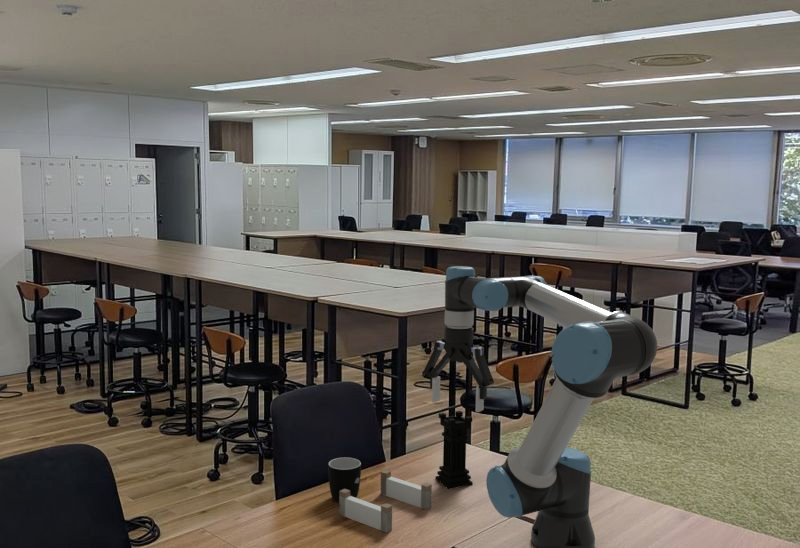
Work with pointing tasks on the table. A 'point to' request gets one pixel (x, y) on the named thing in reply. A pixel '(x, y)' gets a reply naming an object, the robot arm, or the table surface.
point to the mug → (344, 476)
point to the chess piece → (454, 451)
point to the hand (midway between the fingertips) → (457, 406)
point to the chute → (383, 514)
